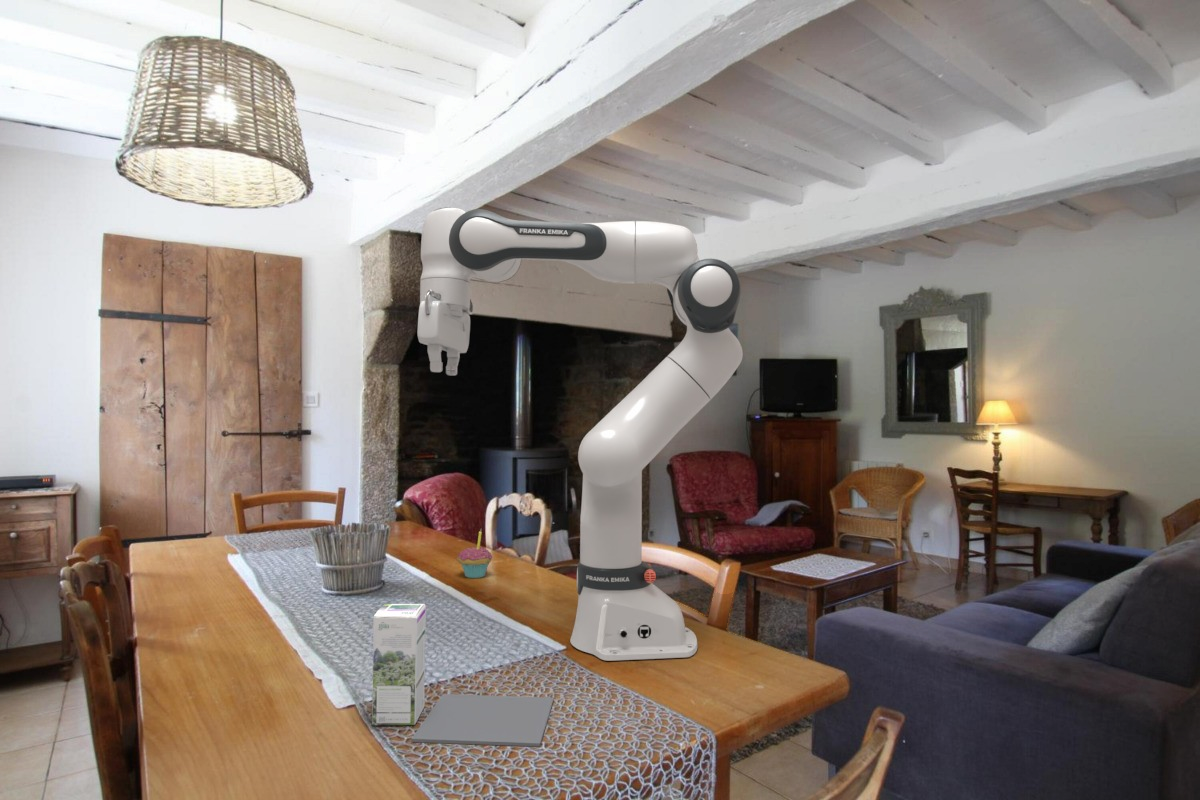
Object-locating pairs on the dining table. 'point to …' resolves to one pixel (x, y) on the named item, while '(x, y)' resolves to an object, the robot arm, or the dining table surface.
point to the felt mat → (486, 720)
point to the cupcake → (475, 560)
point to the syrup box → (398, 664)
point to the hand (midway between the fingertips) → (444, 373)
